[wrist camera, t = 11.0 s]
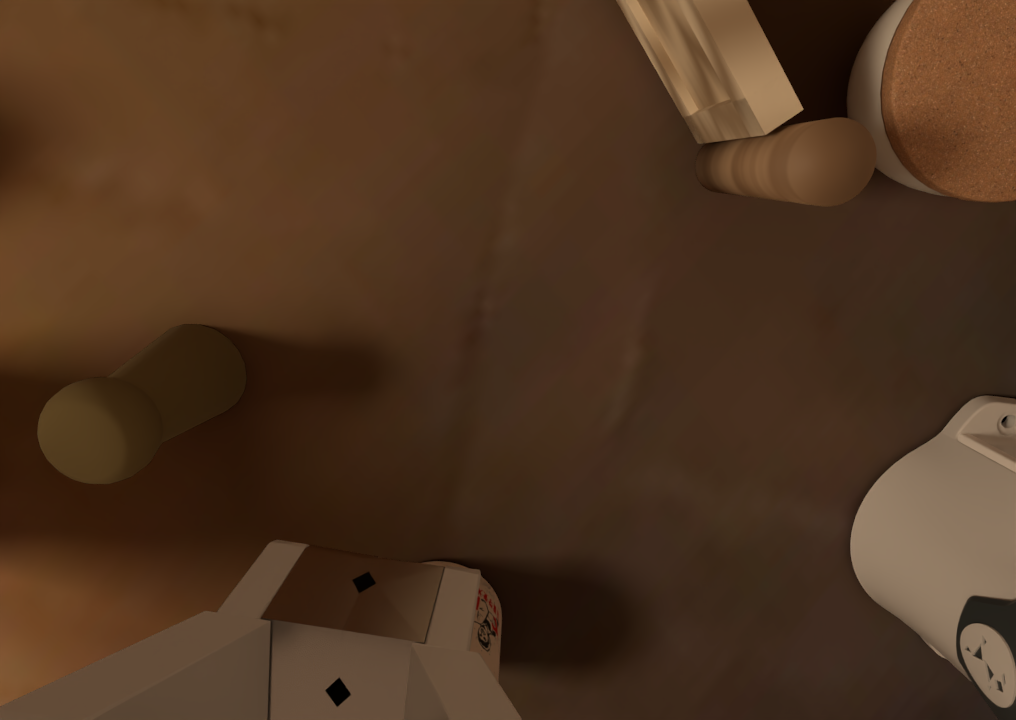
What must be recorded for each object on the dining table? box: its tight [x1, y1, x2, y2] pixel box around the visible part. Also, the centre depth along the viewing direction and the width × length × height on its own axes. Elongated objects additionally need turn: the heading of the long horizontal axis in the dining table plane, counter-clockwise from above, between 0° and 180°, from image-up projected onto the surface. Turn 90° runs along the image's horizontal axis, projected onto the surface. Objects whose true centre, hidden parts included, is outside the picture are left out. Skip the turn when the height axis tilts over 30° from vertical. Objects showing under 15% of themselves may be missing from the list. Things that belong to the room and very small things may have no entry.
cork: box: [37, 324, 247, 484], centre depth 34 cm, size 6×6×11 cm
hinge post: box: [695, 117, 877, 207], centre depth 28 cm, size 3×3×13 cm
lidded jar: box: [847, 0, 1016, 203], centre depth 29 cm, size 11×11×9 cm
